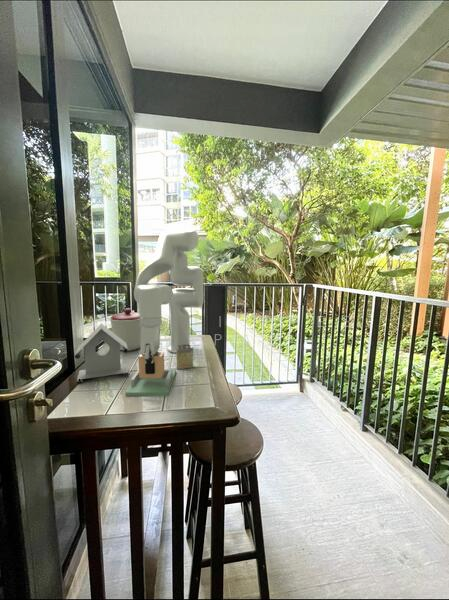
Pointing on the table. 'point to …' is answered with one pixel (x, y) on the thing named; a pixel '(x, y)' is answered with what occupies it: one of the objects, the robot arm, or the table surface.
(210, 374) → the table surface
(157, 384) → the green walled tray
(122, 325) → the canister
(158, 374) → the chute block
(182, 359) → the lighter
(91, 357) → the grey nesting box
